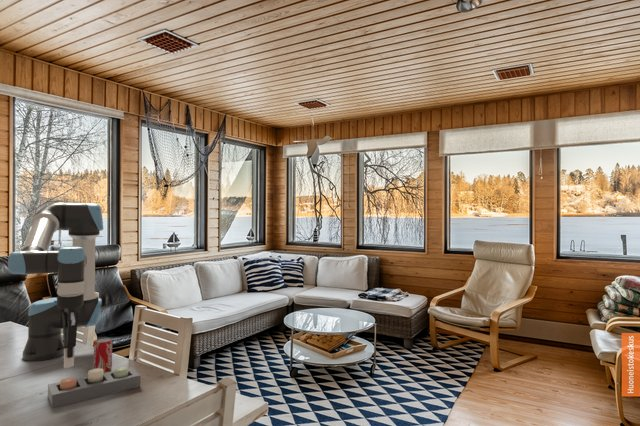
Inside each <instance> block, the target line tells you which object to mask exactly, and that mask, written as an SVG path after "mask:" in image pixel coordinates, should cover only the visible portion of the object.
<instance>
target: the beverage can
mask: <svg viewBox="0 0 640 426" xmlns="http://www.w3.org/2000/svg"><path fill="white" fill-rule="evenodd" d="M92 366H93V368H92V369H97V368H101V369H103V370H104V373H106V372H110V371H112V368H113V367H112V366H113V342H112V339H111V338H109V337H105V338H98V339H96V340H95V343H94V344H93V365H92Z"/></svg>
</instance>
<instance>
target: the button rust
mask: <svg viewBox="0 0 640 426" xmlns="http://www.w3.org/2000/svg"><path fill="white" fill-rule="evenodd" d="M59 382H60V391H62V390H67V389H71V388H76V385H77V378H76V377H67V378H63V379H61V380H59Z"/></svg>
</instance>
